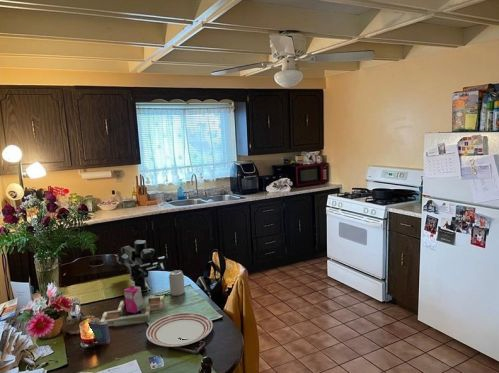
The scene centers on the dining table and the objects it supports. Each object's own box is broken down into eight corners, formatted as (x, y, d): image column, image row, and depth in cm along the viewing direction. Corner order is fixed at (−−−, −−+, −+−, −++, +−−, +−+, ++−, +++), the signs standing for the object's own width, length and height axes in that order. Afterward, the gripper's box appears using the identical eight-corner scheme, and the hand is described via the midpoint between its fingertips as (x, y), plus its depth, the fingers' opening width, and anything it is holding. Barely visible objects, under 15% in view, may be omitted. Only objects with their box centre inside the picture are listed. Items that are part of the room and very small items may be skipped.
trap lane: (108, 307, 187) (108, 301, 187) (163, 299, 192) (163, 294, 191) (100, 328, 166) (99, 322, 166) (162, 319, 171) (161, 313, 170)
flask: (111, 341, 155) (108, 317, 153) (107, 345, 152) (103, 320, 150) (92, 339, 157) (89, 315, 156) (88, 343, 154) (84, 319, 153)
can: (186, 290, 201) (184, 269, 200) (182, 296, 194) (180, 274, 192) (173, 290, 202) (171, 269, 201) (168, 296, 195) (166, 274, 193)
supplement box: (134, 307, 185) (132, 285, 184) (143, 309, 183) (141, 286, 181) (126, 312, 180) (123, 289, 179) (135, 314, 178) (132, 291, 176)
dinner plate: (209, 314, 174) (208, 307, 173) (216, 345, 147) (216, 338, 146) (148, 324, 168) (147, 317, 167) (145, 358, 141) (144, 350, 141)
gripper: (124, 251, 190) (135, 262, 178) (159, 243, 201) (171, 253, 189) (126, 271, 193) (136, 283, 181) (160, 262, 204) (172, 273, 192)
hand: (154, 272), depth 185 cm, fingers open, 9 cm apart
